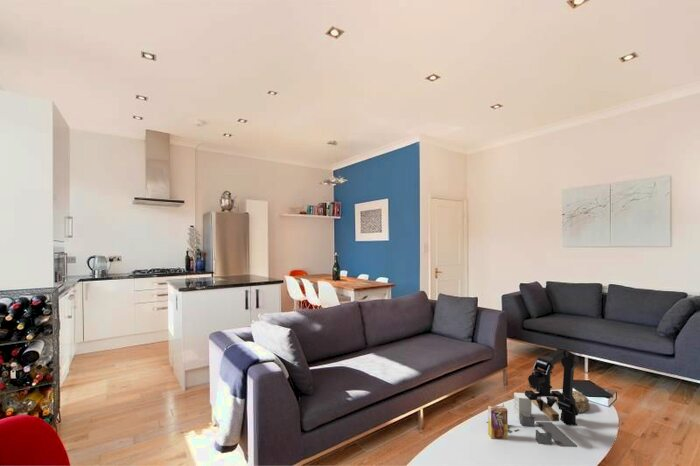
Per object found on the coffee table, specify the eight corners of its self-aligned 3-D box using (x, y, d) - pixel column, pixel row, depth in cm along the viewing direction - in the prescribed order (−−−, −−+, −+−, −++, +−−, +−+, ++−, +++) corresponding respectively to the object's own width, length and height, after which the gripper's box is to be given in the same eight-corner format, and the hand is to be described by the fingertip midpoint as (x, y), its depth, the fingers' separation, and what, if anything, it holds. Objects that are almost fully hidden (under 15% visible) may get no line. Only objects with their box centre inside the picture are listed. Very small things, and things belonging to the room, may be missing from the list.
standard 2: (548, 440, 171) (548, 430, 172) (551, 444, 168) (551, 433, 169) (535, 440, 172) (535, 429, 172) (538, 443, 168) (538, 433, 169)
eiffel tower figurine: (485, 422, 189) (485, 399, 189) (496, 418, 194) (496, 395, 194) (509, 436, 176) (509, 411, 176) (520, 430, 181) (520, 406, 181)
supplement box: (526, 413, 198) (526, 392, 199) (531, 420, 191) (531, 398, 191) (513, 413, 199) (513, 392, 199) (518, 419, 192) (518, 397, 192)
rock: (575, 418, 196) (570, 400, 198) (553, 412, 210) (548, 395, 212) (597, 408, 204) (592, 391, 206) (575, 403, 217) (570, 387, 219)
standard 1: (531, 423, 187) (531, 414, 188) (534, 426, 184) (534, 416, 185) (519, 423, 187) (520, 413, 188) (522, 426, 184) (522, 416, 185)
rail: (537, 401, 188) (537, 395, 188) (559, 421, 168) (559, 414, 168) (531, 401, 188) (531, 395, 188) (552, 420, 168) (552, 414, 169)
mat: (551, 422, 189) (551, 422, 189) (577, 446, 167) (577, 446, 167) (535, 422, 189) (535, 421, 189) (559, 446, 167) (559, 445, 167)
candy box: (504, 434, 176) (504, 405, 177) (507, 439, 172) (508, 409, 172) (487, 433, 176) (487, 405, 177) (491, 438, 172) (491, 409, 172)
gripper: (552, 376, 187) (552, 403, 186) (519, 375, 187) (519, 403, 187) (565, 385, 175) (565, 414, 175) (530, 384, 176) (530, 413, 176)
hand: (544, 411), depth 178 cm, fingers closed on rail, 3 cm apart
